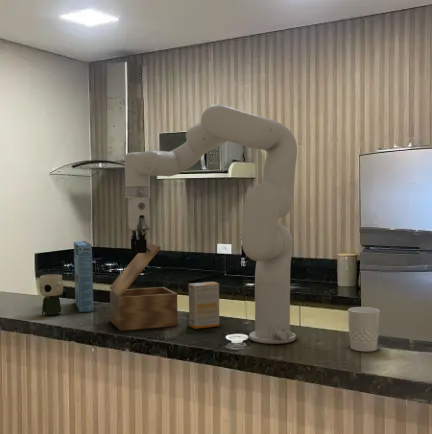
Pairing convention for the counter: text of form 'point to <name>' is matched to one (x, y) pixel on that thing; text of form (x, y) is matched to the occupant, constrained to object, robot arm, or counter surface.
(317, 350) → the counter surface
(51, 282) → the character mug
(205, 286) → the supplement box
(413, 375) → the counter surface
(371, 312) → the white cup
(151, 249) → the lid
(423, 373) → the counter surface
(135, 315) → the chest
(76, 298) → the gum box
